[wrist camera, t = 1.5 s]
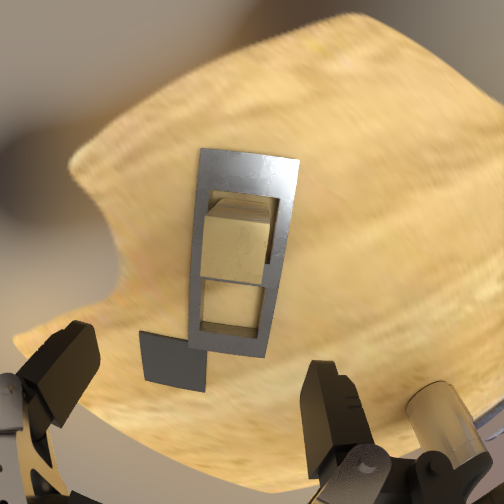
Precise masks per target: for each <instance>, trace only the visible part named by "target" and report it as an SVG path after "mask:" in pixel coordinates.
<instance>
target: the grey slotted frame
mask: <svg viewBox="0 0 504 504" xmlns="http://www.w3.org/2000/svg"><path fill="white" fill-rule="evenodd" d="M299 162H300V160H295V159H289V158H282V157H276V156H269V155H262V154H254V153H246V152H237V151H228V150H218V149H206V148H201V153H200V161H199V170H198V180H197V190H196V200H195V212H194V224H193V238H192V253H191V272H190V295H189V334H188V348H194V349H200V350H206V351H212V352H219V353H226V354H233V355H241V356H249V357H258V358H265V353H266V348H267V344H268V339H269V334H270V329H271V324H272V319H273V314H274V309H275V303H276V298H277V293H278V288H279V282H280V277H281V271H282V266H283V260H284V255H285V249H286V243H287V237H288V232H289V226H290V220H291V214H292V207H293V201H294V195H295V189H296V182H297V175H298V169H299ZM213 190H220V191H229V192H237V193H245V194H253V195H260V196H268V197H275V198H278V205H277V211H276V218H275V224H274V231H273V237H272V244H271V250H270V256H269V257H265V263H264V269H263V276H262V282H261V284H254V283H246V282H239V281H231V280H224V279H217V278H210V277H203V276H200V271H201V257H202V243H203V231H204V220H205V215H206V214H207V213H208V212H209V211H210V210H211V205H212V195H213ZM205 279H208V280H215V281H222V282H229V283H236V284H244V285H251V286H259V287H264V293H263V299H262V305H261V311H260V317H259V323H258V328H257V329H254V328H246V327H238V326H231V325H224V324H217V323H210V322H204V321H203V305H204V289H205Z"/></svg>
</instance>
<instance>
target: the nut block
mask: <svg viewBox="0 0 504 504" xmlns="http://www.w3.org/2000/svg"><path fill="white" fill-rule="evenodd" d="M269 230H270V218H269V212H268V205H267V204H264V203H256V202H249V201H241V200H233V199H225V198H222V199H221V200H220V201H219V202H218V203H217V204H216V205H215V206H214V207H213V208H212V209H211V210H210V211H209V212H208V213H207V214H206V215H205V220H204V231H203V243H202V257H201V271H200V276H203V277H210V278H217V279H224V280H231V281H239V282H246V283H254V284H261V282H262V276H263V269H264V263H265V256H266V250H267V243H268V237H269Z"/></svg>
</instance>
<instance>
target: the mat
mask: <svg viewBox="0 0 504 504" xmlns="http://www.w3.org/2000/svg"><path fill="white" fill-rule="evenodd" d="M139 338H140V347H141V355H142V363H143V370H144V377H145V380H146V381H150V382H154V383H159V384H163V385H167V386H172V387H177V388H182V389H187V390H192V391H198V392H204V393H205V385H206V363H207V351H206V350H200V349H194V348H188V340H183V339H178V338H173V337H168V336H163V335H158V334H153V333H148V332H144V331H139Z"/></svg>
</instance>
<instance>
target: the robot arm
mask: <svg viewBox="0 0 504 504" xmlns="http://www.w3.org/2000/svg"><path fill="white" fill-rule="evenodd" d="M99 366H100V352H99V348H98V344H97V339H96V335H95V330H94V327H93V326H92V325H91V324H88V323H84V322H81V321H77V320H74V321H72V322H71V323H70V324H69V325H68V326H67V327H66V328H65V329H64V330H63V329H62V330H60V331H58V332H56V333H54V334H52V335H51V336H50V337H49V338H48V339H47V340H46V341H45V342H44V345H42V346H41V347H40V348H39V349H38V351H36V352H35V353H34V354H33V355H32V356H31V357H30V359H29V360H28V361H27V362H26V363H25V364H24V365H23V366H22V367H21V369H20V370H19V371H18V372H17V373H16V374H13V373H3V374H0V504H102V503H99V502H97V501H95V500H92V499H90V498H88V497H85V496H83V495H81V494H79V493H77V492H74V491H73V490H72V491H71V494H69V492H68V489H67V487H66V485H65V483H64V482H63V480H62V479H61V477H60V474H59V472H58V468H57V464H56V460H55V455H54V451H53V446H52V441H51V435H50V431H49V429H48V427H49V426H50V424H53V425H55V426H57V427H59V428H62V427H63V425H64V423H65V422H66V420H67V418H68V417H69V415H70V413H71V412H72V410H73V409H74V407H75V405H76V404H77V402H78V400H79V399H80V397H81V396H82V394H83V392H84V391H85V389H86V388H87V386H88V385H89V383H90V382H91V380H92V378H93V377H94V375H95V374H96V372H97V371H98V369H99ZM300 409H301V417H302V425H303V433H304V442H305V450H306V459H307V468H308V477H309V479H319V482H320V488H319V489H318V490H317V492H316V493H315V494H314V495H313V496H312V498H311V499H310V500H309V501H308V503H307V504H466V500H467V498H468V497H469V495H470V493H471V492H472V490H473V489H474V488H475V486H476V485H477V484H478V483H479V482H480V480H481V479H482V478H483V477H484V476H485V475H486V474H487V472H488V471H489V470H490V468H491V467H492V464H493V460H492V458H491V456H490V454H489V452H488V451H487V448H486V446H485V445H484V443H483V441H482V439H481V437H480V436H479V434H478V432H477V430H476V429H475V427H474V425H473V424H472V422H473V417H472V415H471V414H470V412H469V411H468V409H467V407H466V406H465V404H464V403H463V401H462V399H461V398H460V396H459V395H458V393H457V392H456V390H455V389H454V387H453V386H452V385H448V384H447V383H446V382H443V381H440V382H436V383H433V384H431V385H429V386H427V387H425V388H424V389H422V390H421V391H419V392H418V393H417V394H416V395H415V396H414V397H413V398H412V399H411V400H410V402H409V403H408V405H407V407H406V413H407V416H408V418H409V420H410V422H411V425H412V427H413V430H414V432H415V434H416V436H417V439H418V441H419V443H420V446H421V448H422V451H423V454H422V455H421V456H419V457H418V458H417V459H416V460H415V459H403V458H395V457H391V456H389V454H388V453H387V451H385V450H384V449H383V448H382V447H380V446H378V445H375V443H374V440H373V437H372V434H371V431H370V428H369V425H368V422H367V419H366V416H365V413H364V410H363V408H362V404H361V401H360V399H359V395H358V392H357V390H356V387H355V385H354V384H353V382H352V381H351V380H350V379H349V378H348V377H347V376H346V375H338V372H337V369H336V366H335V363H334V361H321V360H312V361H311V363H310V365H309V369H308V372H307V375H306V378H305V381H304V383H303V386H302V389H301V394H300ZM472 504H504V482H503V483H502V484H500V485H498V486H497V487H496V488H494V489H493V490H491V491H490V492H489V493H487V494H486V495H484V496H483V497H481V498H480V499H478V500H477V501H475V502H474V503H472Z"/></svg>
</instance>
